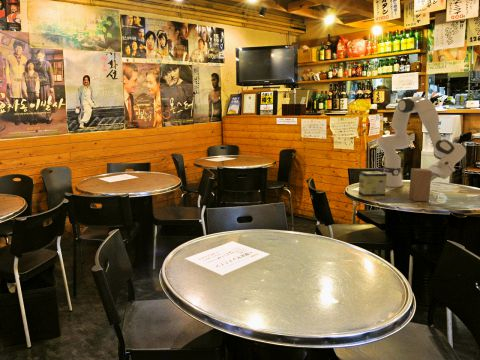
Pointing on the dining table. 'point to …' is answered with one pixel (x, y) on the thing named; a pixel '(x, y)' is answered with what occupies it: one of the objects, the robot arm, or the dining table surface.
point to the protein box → (372, 183)
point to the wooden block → (420, 184)
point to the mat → (394, 200)
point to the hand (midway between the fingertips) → (429, 179)
